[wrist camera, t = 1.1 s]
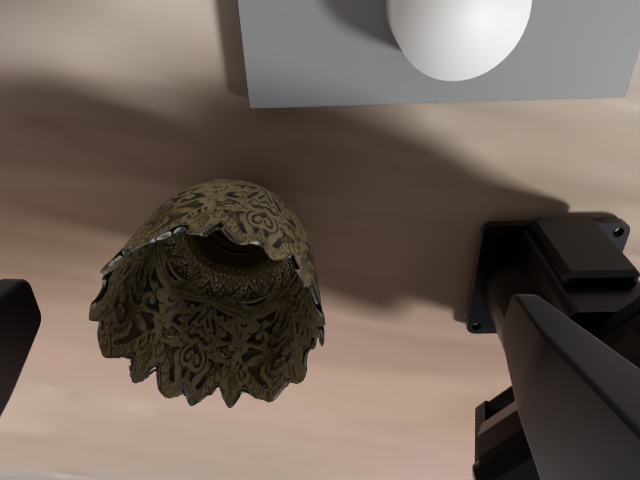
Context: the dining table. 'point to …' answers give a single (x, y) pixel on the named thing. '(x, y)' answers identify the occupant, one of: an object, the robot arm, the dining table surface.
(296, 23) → the carrier plate
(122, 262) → the cup
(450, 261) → the dining table surface
